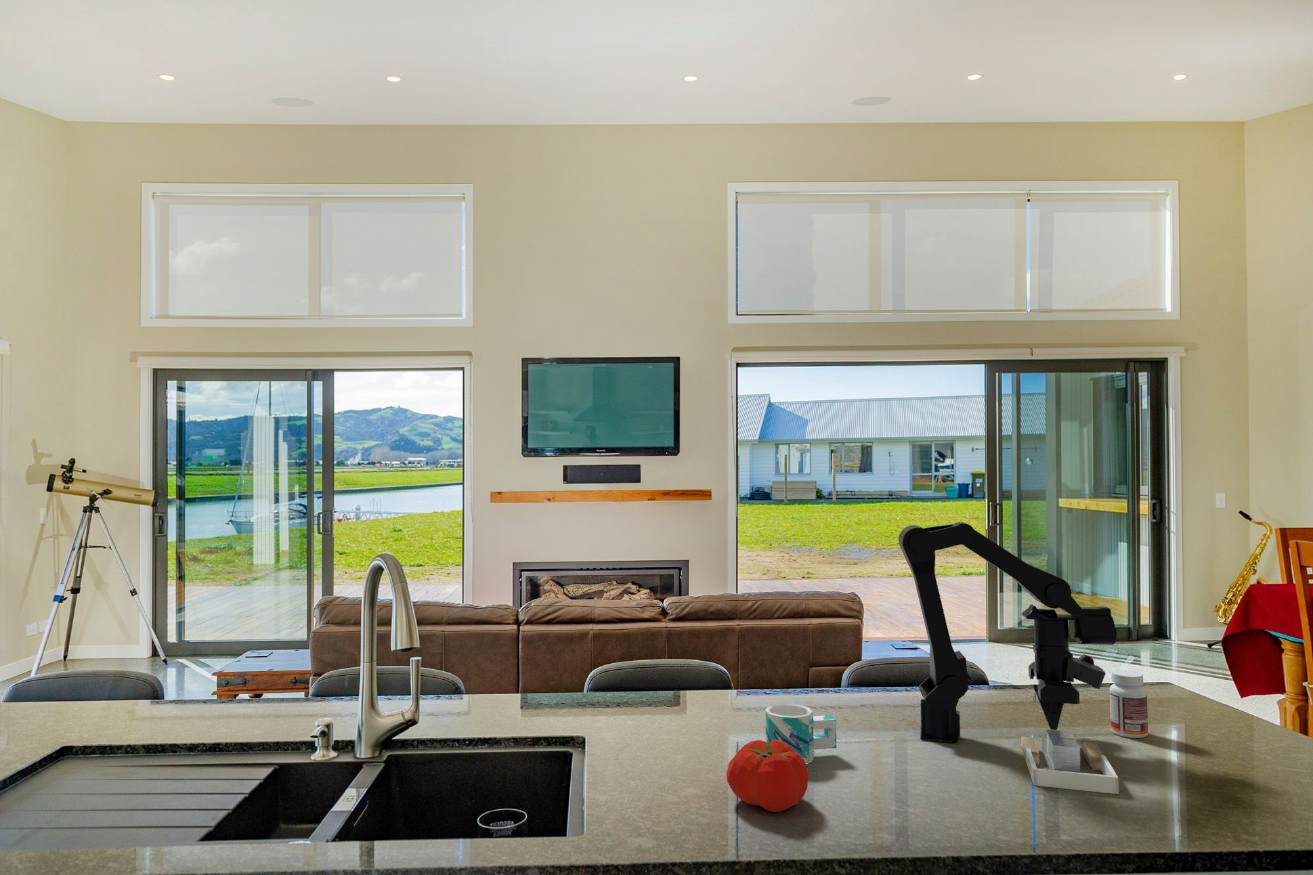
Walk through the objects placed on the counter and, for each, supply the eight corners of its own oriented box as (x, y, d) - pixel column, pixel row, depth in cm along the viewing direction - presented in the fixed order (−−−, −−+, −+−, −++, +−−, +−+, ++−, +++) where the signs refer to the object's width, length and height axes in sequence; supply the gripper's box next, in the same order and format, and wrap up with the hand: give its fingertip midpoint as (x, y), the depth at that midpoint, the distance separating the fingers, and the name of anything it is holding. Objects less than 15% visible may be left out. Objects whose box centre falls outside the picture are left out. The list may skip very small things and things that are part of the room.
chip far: (1049, 760, 142) (1049, 736, 142) (1046, 752, 146) (1046, 729, 146) (1075, 762, 141) (1075, 739, 141) (1071, 754, 145) (1071, 731, 145)
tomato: (724, 786, 132) (723, 732, 132) (803, 787, 131) (802, 732, 131) (729, 821, 119) (728, 761, 119) (815, 821, 118) (815, 761, 119)
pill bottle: (1154, 734, 154) (1153, 673, 154) (1137, 741, 151) (1136, 678, 151) (1121, 726, 159) (1119, 667, 160) (1103, 732, 156) (1102, 671, 156)
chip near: (1053, 769, 138) (1053, 745, 138) (1050, 761, 141) (1049, 737, 142) (1080, 772, 136) (1079, 747, 137) (1076, 763, 140) (1075, 739, 140)
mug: (761, 751, 147) (760, 704, 148) (825, 747, 149) (824, 700, 150) (775, 768, 139) (774, 718, 140) (842, 763, 141) (842, 714, 141)
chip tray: (1033, 785, 131) (1033, 769, 131) (1026, 763, 140) (1026, 748, 140) (1118, 794, 127) (1118, 777, 127) (1105, 770, 137) (1105, 755, 137)
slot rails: (1026, 763, 140) (1026, 751, 140) (1021, 747, 148) (1021, 736, 148) (1105, 770, 137) (1105, 758, 137) (1096, 754, 144) (1095, 742, 144)
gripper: (1111, 657, 140) (1113, 750, 140) (1090, 635, 158) (1092, 717, 157) (1039, 653, 143) (1041, 744, 143) (1027, 632, 161) (1029, 712, 161)
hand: (1053, 729), depth 151 cm, fingers closed
